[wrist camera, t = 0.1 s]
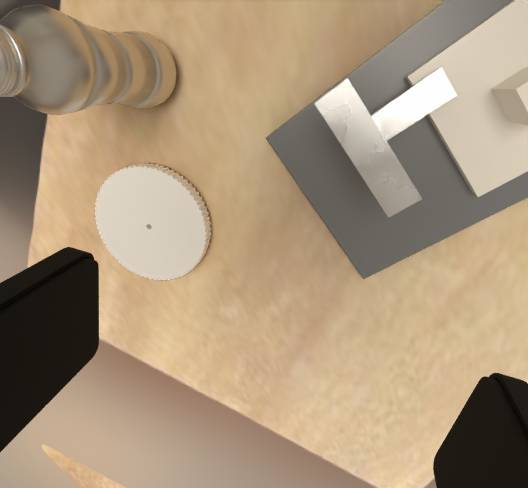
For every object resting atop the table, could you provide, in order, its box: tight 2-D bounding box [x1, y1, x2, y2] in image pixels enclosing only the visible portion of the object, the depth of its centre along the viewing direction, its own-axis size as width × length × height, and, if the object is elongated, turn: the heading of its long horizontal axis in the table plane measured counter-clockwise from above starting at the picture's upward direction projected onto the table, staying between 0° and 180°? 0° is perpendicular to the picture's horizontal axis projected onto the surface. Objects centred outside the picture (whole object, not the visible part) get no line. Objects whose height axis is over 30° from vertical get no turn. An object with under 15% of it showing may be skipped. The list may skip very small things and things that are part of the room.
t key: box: [314, 68, 457, 218], centre depth 27 cm, size 8×9×11 cm
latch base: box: [266, 0, 528, 279], centre depth 33 cm, size 26×18×2 cm
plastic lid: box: [94, 163, 211, 281], centre depth 44 cm, size 14×14×2 cm
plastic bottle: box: [0, 5, 176, 115], centre depth 29 cm, size 6×7×20 cm
